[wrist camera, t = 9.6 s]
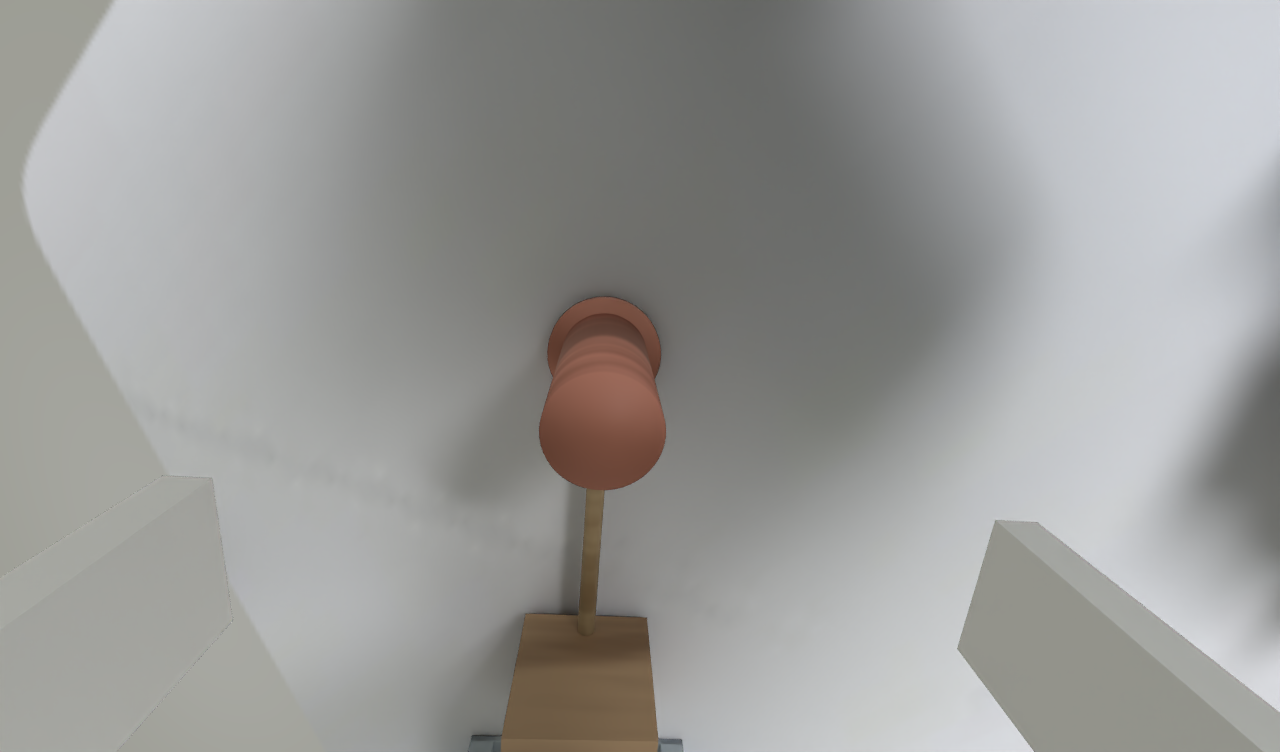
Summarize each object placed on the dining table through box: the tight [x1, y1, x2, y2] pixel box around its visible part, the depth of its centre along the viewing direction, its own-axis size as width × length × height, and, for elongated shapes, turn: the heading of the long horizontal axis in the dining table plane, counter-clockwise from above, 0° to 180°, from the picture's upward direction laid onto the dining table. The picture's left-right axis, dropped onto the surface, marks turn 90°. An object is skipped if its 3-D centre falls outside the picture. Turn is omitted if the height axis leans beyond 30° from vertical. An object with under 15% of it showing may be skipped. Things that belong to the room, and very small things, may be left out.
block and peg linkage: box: [501, 297, 666, 752], centre depth 24 cm, size 22×6×9 cm, turn 175°
